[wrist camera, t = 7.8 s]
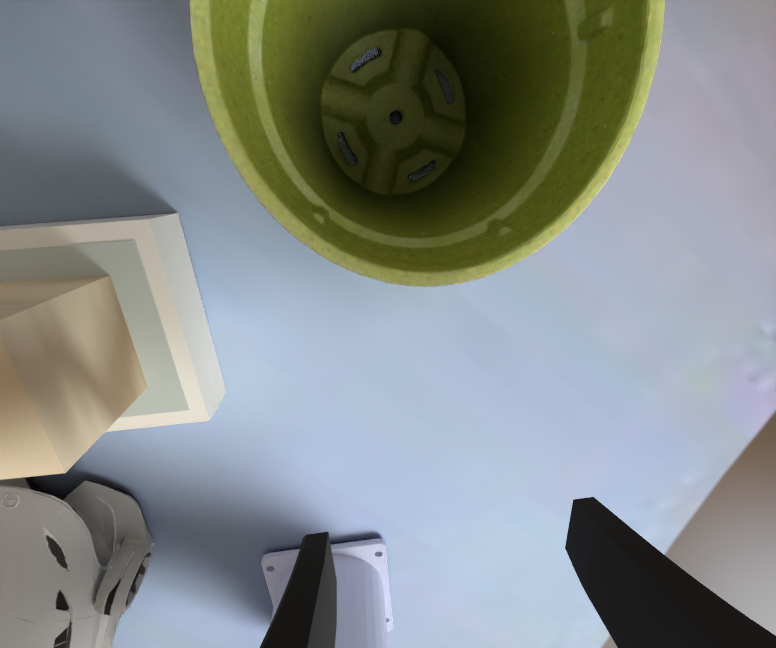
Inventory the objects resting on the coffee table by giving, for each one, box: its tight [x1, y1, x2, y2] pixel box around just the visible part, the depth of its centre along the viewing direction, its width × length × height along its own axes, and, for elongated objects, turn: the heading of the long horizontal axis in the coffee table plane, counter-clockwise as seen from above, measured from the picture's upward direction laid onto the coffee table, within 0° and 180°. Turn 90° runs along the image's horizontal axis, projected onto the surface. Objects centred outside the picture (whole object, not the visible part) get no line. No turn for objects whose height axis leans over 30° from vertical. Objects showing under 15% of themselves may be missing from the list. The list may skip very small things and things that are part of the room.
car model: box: [0, 477, 154, 648], centre depth 21 cm, size 11×24×5 cm, turn 159°
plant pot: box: [189, 0, 665, 287], centre depth 11 cm, size 9×9×9 cm
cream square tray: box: [0, 213, 226, 432], centre depth 16 cm, size 9×9×3 cm
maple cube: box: [0, 275, 148, 480], centre depth 13 cm, size 5×5×5 cm
